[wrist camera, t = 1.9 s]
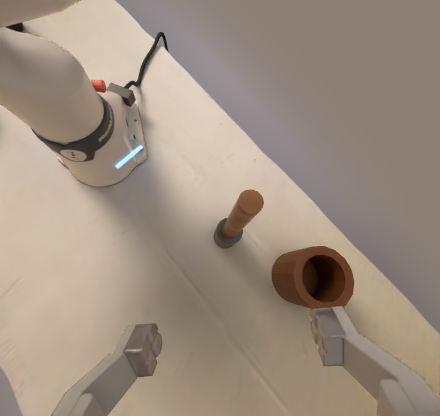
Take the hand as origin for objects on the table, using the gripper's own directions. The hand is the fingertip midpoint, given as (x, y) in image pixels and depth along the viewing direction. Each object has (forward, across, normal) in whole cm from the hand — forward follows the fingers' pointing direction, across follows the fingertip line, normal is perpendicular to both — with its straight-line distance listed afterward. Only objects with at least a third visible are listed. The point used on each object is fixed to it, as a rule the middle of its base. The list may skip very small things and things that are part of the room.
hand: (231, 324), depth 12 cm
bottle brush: (+33, +4, +12) cm, 35 cm away
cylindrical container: (+30, -9, +22) cm, 38 cm away
